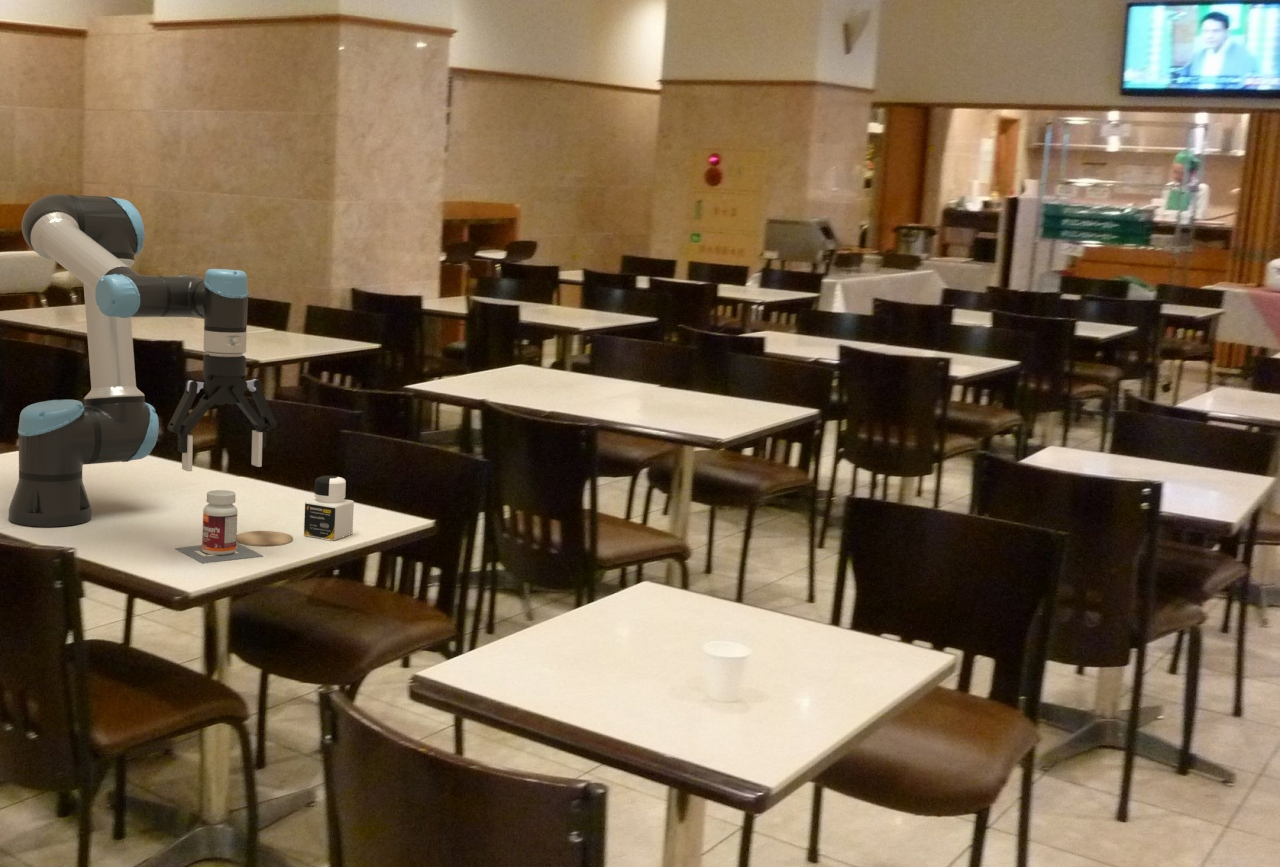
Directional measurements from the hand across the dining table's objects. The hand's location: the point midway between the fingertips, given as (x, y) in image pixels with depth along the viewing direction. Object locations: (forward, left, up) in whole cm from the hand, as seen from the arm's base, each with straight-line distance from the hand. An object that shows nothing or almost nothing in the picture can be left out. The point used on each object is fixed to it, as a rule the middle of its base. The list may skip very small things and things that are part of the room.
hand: (222, 468), depth 255 cm
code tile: (0, 0, -16) cm, 16 cm away
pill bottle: (0, 0, -16) cm, 16 cm away
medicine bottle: (+25, +4, -16) cm, 30 cm away
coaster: (+12, +6, -16) cm, 21 cm away
